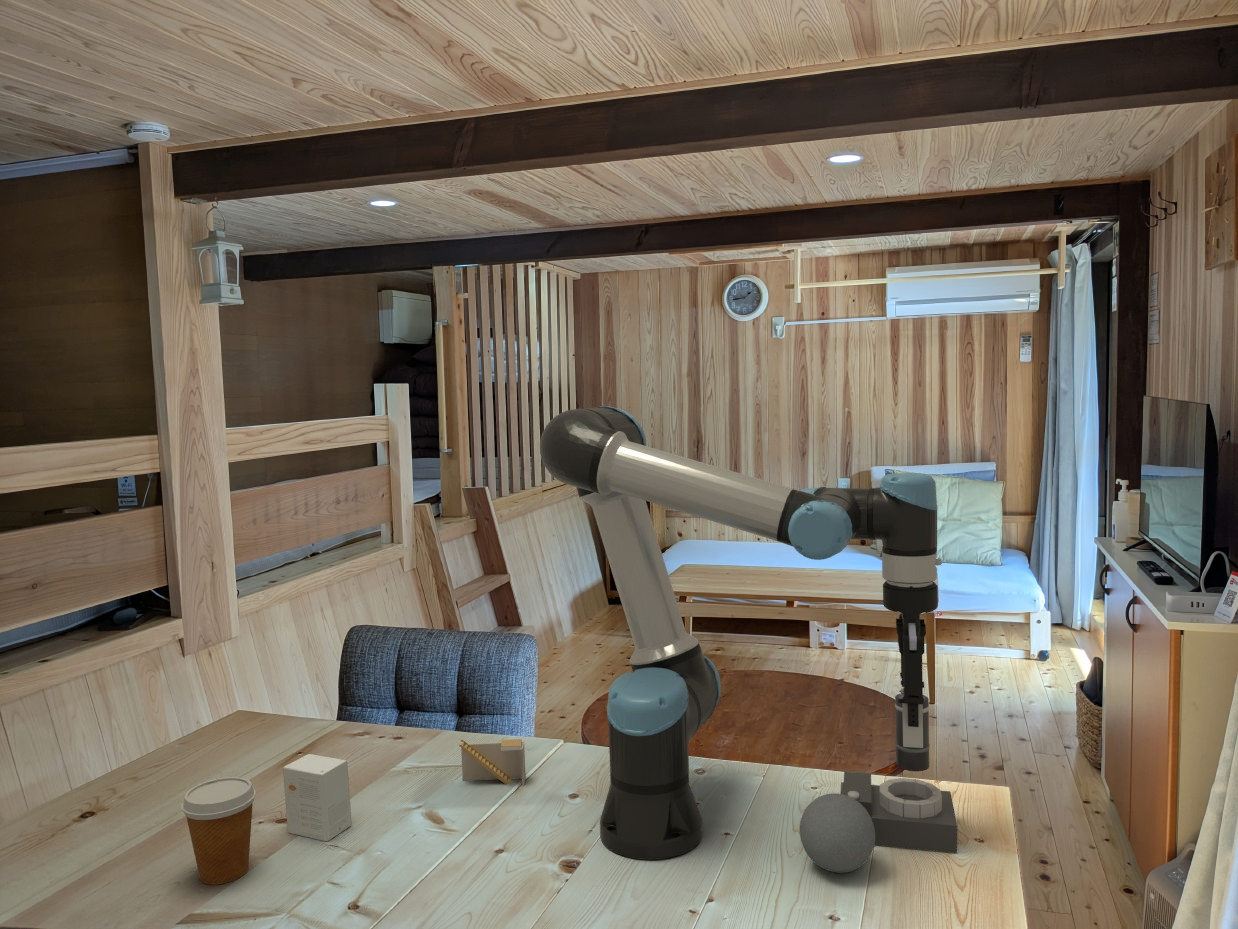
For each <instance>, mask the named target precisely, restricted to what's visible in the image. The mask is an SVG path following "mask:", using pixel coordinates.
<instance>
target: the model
mask: <svg viewBox="0 0 1238 929" xmlns="http://www.w3.org/2000/svg"><path fill="white" fill-rule="evenodd" d="M460 742H461V744H458V747H459V748H461V772H462V774H461V775H462V782H465V781H466V782H467V781H468V782H469V781H485V780H488V781H492V780H500V781H501V782H502V783H503V784H505V785H511V780H512V779H521V786H525V783H526V756H525V755H526V752H525V751H526V750H525V741H523V739H522V738H520V739H517V738H516V739H513V738H512V739H502V740H501V742H483V743H481V742H480V743H479V742H478V743H477V742H476V743H467V742H466V741H465V740H463V739H460Z"/></svg>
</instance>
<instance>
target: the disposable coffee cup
mask: <svg viewBox="0 0 1238 929" xmlns="http://www.w3.org/2000/svg"><path fill="white" fill-rule="evenodd" d="M256 794H257V791H256V789H255V788H254V786H253V784H252V782H251V780H249V779H248V778H244V777H241V776H240V777H239V776H227V777H219V778H215V779H210V780H206V781H204V782H201V783H199V784H196V785H195V786H193V787H192V788H190V789H189V790H187V792H186V793H185V794H184V799H183V802H181V805H180V806H181V811H182V812H183V813H184V816H186V821H187V825H188V831H189V835H190V840H191V843H192V844H191V845H192V848H193V850H192V851H193V854H194V858H195V862H196V867H197V871H198V876H199V880H200V882H202V883H203V884H206V885H223V884H227V883H230V882H233V881H235V880H238V879H239V878H241V877H243V876H244V875H245V874H246V873H247V872H248V871H249V863H250V846H251V836H252V835H251V834H252V833H251V832H252V819H253V803H254V801H255V798H256Z"/></svg>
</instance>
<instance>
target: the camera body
mask: <svg viewBox="0 0 1238 929" xmlns="http://www.w3.org/2000/svg"><path fill="white" fill-rule="evenodd" d="M843 773H844V774H843V782H841V783H840V793H839V794H843V795H846V796H849V797H851V798H853V799H855V800H856V801H858V802H859V803H860V804H861V805H862V806H863V807H864V808H865V809H866V810H867V812H868V813H869V815H870V817H871V819H872V822H873V825H874V829H875V845H874V846H878V847H879V846H880V847H889V848H898V849H900V848H901V849H908V850H909V849H910V850H919V851H928V852H929V851H931V852H938V853H939V852H941V853H951V854H958V822H957V817H956V812H955V807H954V802H953V798H952V792H951V791H950V790H949V791H948V790H941V789H940V788H939V787H937V786H936V785H934V784H932V783H931V782H928V781H925V780H921V779H917V778H907V777H905V778H904V777H898V778H891V779H887V780H885V781H883V782H882V783H881V784H880V785H879V784H872V773H871V772H870V773H868V772H858V771H857V772H856V771H844V772H843Z"/></svg>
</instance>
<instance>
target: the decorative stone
mask: <svg viewBox="0 0 1238 929" xmlns="http://www.w3.org/2000/svg"><path fill="white" fill-rule="evenodd" d="M799 836H800V841H801V846H802V847H803V850H804V851H805V854H806V855H807V856H808V858H810V860H811V861H812V862H813V863H814V864H816V865H817V866H818V867H820V868H821V869H824V870H826V871H828V872H832V873H839V874H840V873H842V874H843V873H845V874H846V873H850V872H853V871H855V870H858V869H859V868H861V867H862V866H863V865H864V864H865V863H866V862H867V861H868V860H869V859H870V857H871V855H872V853H873V850H874V848H875V846H876V845H875V829H874V825H873V822H872V819H871V817H870V815H869V813H868V812H867V810H866V809H865V808H864V807H863V806H862V805H861V804H860V803H859V802H858V801H856V800H855V799H853V798H851V797H849V796H846V795H843V794H840V793H826V794H822V795H820V796H818V797H816V798H815V799H813V800H812V801H811V802H810V803H809V804H808V805H807V806H806V808H805V809H804V811H803V813H802V815H801V818H800V823H799Z"/></svg>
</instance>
